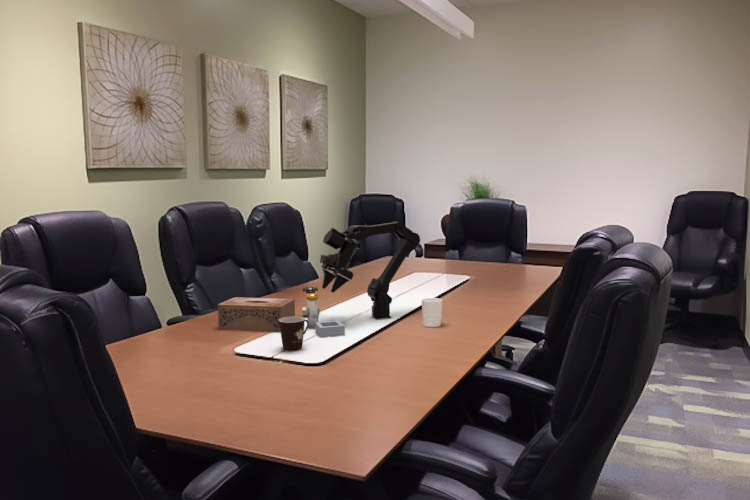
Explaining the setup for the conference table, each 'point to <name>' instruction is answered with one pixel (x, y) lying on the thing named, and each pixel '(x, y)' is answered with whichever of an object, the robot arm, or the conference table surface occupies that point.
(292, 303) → the tissue box cover
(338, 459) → the conference table surface
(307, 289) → the valve
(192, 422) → the conference table surface
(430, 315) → the white cup
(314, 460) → the conference table surface
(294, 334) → the coffee mug
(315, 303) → the gold-capped bottle
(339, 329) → the grey square hollow block
